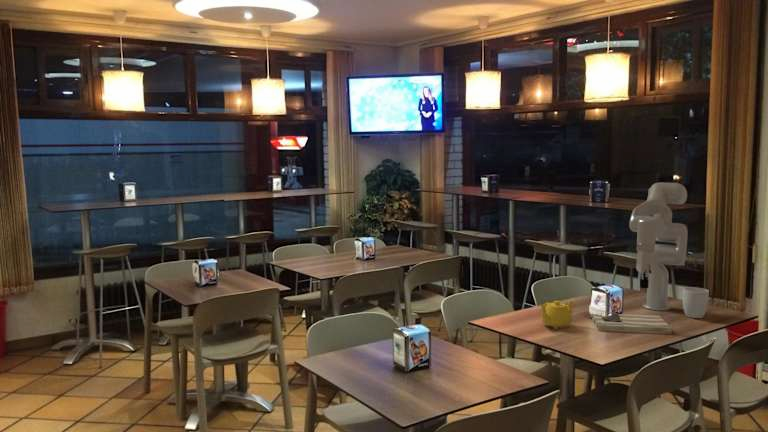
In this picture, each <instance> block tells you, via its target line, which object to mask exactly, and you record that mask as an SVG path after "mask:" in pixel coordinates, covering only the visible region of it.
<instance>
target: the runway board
mask: <svg viewBox="0 0 768 432" xmlns="http://www.w3.org/2000/svg"><path fill="white" fill-rule="evenodd" d="M593 313H594V312H591V314H590V315H591V316H590V318H592V319H591V320H592V322H593V323H594V325H595V327H596V329H597V330H598V331H599V332H618V333H620V332H621V333H641V334H642V333H643V334H661V335H672V332H673V328H672V326H670V325H669V324H668V323H667V321H665V320H664V319H663V318H662V317H661V316H660V315H648V314H643V315H642V314H623V313H617V314H618V315H619V316H620V322H607V321H606V316H602V315H598V314H593Z"/></svg>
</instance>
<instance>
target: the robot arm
mask: <svg viewBox="0 0 768 432" xmlns="http://www.w3.org/2000/svg"><path fill="white" fill-rule="evenodd" d="M647 192H648V193H647V194H648V195H647V199H646V201H644V202H642V203H640V204H638V205H636V207H634V209H633V210H632V211H631V215H630V218H629V222H628V224H629V225H628V226H629V229H630V231H631V232H633V233H637V234H636V236H637V237H636V251H637V254H636V265H635V268H636V271H637V272H638V273H639V274H640V277H639V278H640V279H639V288H640V289H646V302H644V303H643V304H642V307H643V308H645V309H647V310H653V311H658V312H659V311H660V312H661V311H662V312H663V311H664V312H666V311H670V310H671V306H670V305H669V304H668V295H669V294H668V292H669V276H670V275H669V274H670V273H669V271H668V269H667V268H666V266H665V265H669V266H683V265H684V264H685V263H686V260H687V259H686V258H687V247H688V227H687V226H686V225H685V224H684V223H679V222H672V220H673V212H672V210H671V208H670V207H669V206H668V205H684V204H685V203H686V201H687V199H688V191H687V189H686V187H685V186H684V185H683V184H681V183H679V182H660V181H659V182H656V183H653V184H651V186H650V187H649V188H648V191H647ZM656 242H662V243H663V242H664V243H674V244H676V245H674V244H673V245H671V244H661V243H656Z"/></svg>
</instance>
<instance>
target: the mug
mask: <svg viewBox="0 0 768 432" xmlns="http://www.w3.org/2000/svg"><path fill="white" fill-rule="evenodd" d="M709 294H710V291H709V290H708V289H707V288H703V287H696V286H687V287H683V289H682V307H683V312H684V314H685V316H686V317H687V316H688V317H687V318H689V317H692V318H691V319H694V318H700V319H702V318H704V317H705V316H706V313H707V310H708V307H709V299H710V297H709V296H710V295H709Z"/></svg>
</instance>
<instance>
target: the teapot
mask: <svg viewBox="0 0 768 432" xmlns="http://www.w3.org/2000/svg"><path fill="white" fill-rule="evenodd" d="M573 301H574V298H571V299H569V301H568V302H567V305H566V304H565V303H562V302H561V301H560V300H554V301H553V302H545V303H544V304H540V307H541V321H542V322H543V323H544V326H545V327H553V329H554V330H560V328H561V327H563V328H564V329H567V328H569V325H570V324H571V323H572V322H573V316H572V312H573V307H572V306H573V305H572V303H573Z"/></svg>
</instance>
